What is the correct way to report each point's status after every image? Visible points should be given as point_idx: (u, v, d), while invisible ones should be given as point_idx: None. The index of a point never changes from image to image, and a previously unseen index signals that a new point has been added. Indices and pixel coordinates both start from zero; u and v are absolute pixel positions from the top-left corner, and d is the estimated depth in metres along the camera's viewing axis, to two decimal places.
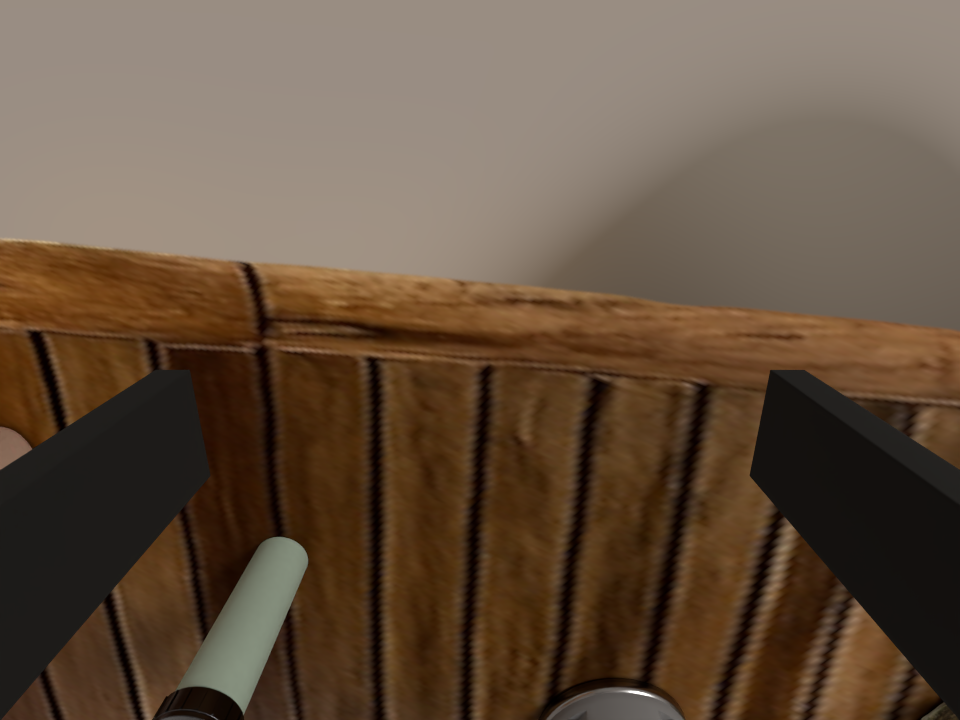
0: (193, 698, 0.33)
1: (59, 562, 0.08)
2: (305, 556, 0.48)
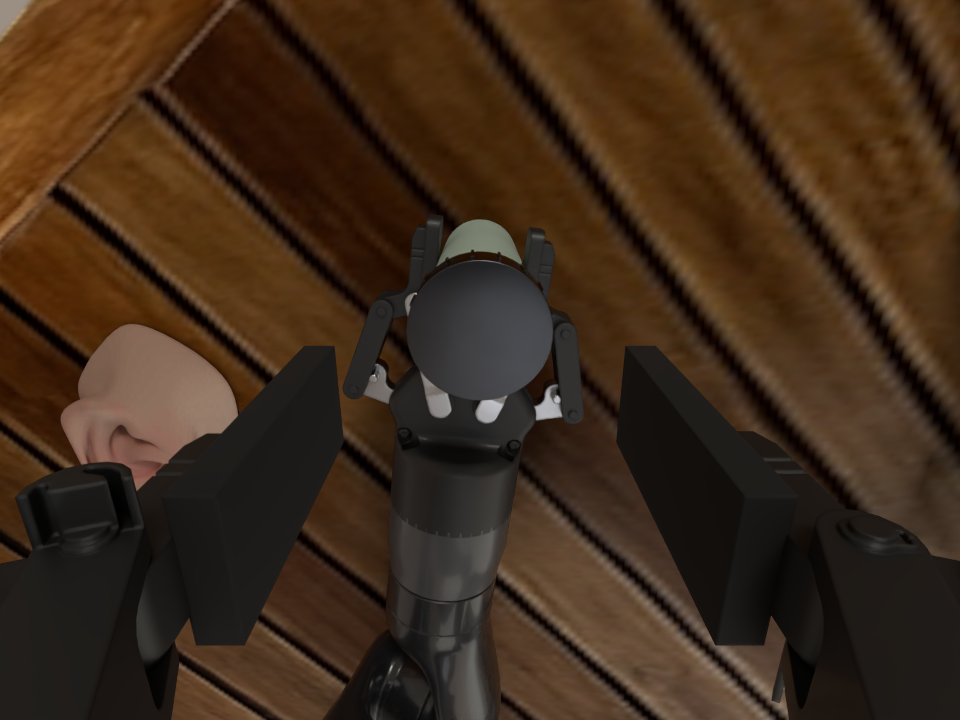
0: (435, 270, 0.19)
1: (279, 498, 0.10)
2: (500, 226, 0.34)
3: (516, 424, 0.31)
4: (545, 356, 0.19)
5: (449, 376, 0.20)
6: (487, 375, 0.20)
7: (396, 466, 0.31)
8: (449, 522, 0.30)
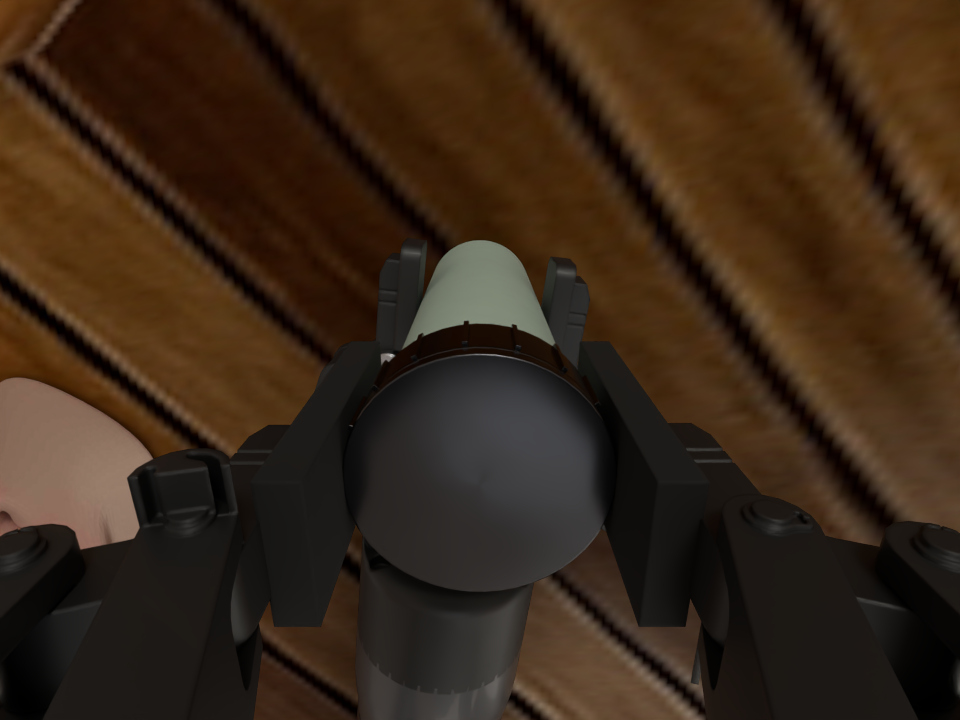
0: (397, 361, 0.11)
1: (343, 487, 0.10)
2: (508, 250, 0.25)
3: None
4: (600, 521, 0.10)
5: (424, 554, 0.11)
6: (493, 552, 0.11)
7: (363, 588, 0.22)
8: (436, 675, 0.21)
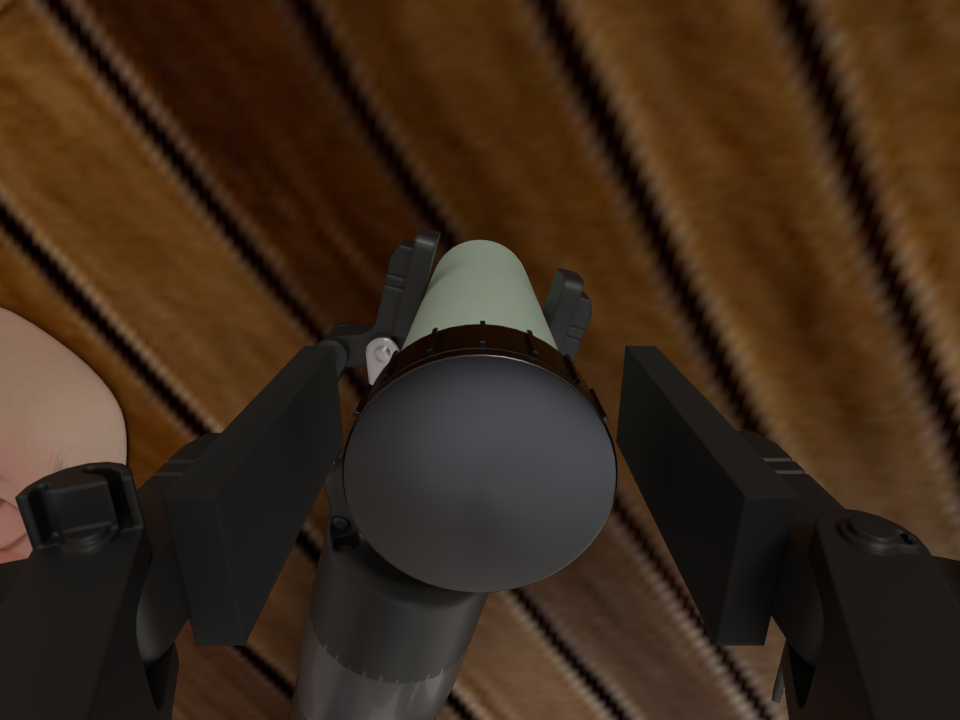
0: None
1: (279, 498, 0.10)
2: (513, 254, 0.25)
3: None
4: (591, 413, 0.10)
5: (516, 562, 0.11)
6: (556, 513, 0.10)
7: (322, 567, 0.22)
8: (384, 663, 0.21)
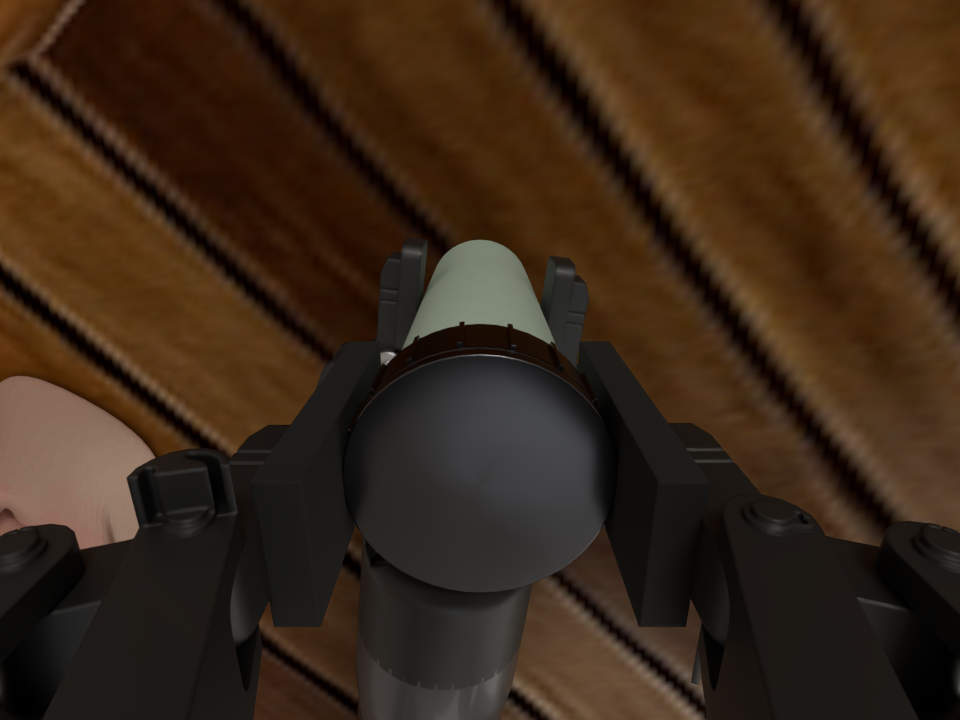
0: None
1: (343, 487, 0.10)
2: (507, 249, 0.25)
3: None
4: (578, 397, 0.10)
5: (530, 557, 0.11)
6: (561, 502, 0.10)
7: (363, 584, 0.22)
8: (436, 671, 0.21)
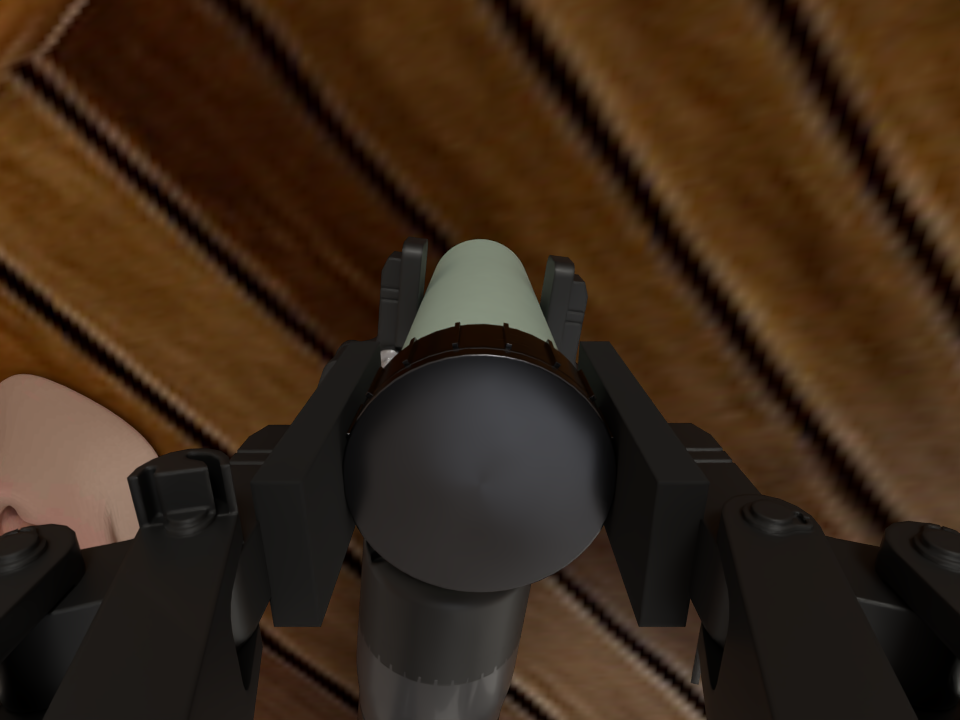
0: None
1: (343, 487, 0.10)
2: (507, 248, 0.25)
3: None
4: (428, 369, 0.09)
5: (583, 474, 0.10)
6: (536, 424, 0.10)
7: (364, 581, 0.23)
8: (436, 666, 0.21)
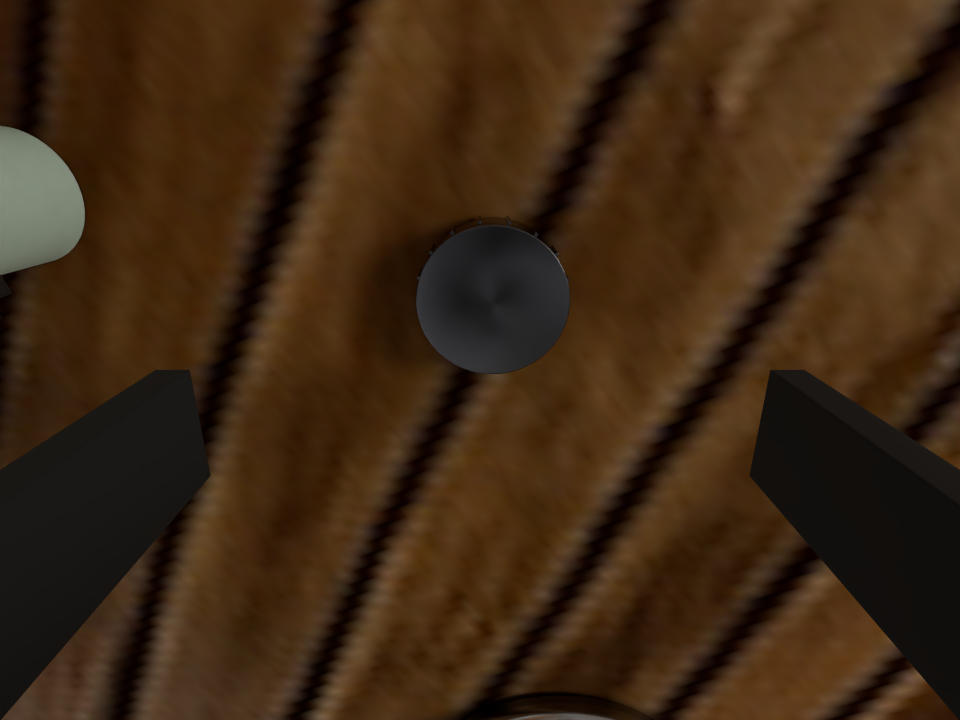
0: None
1: (59, 562, 0.08)
2: (77, 210, 0.19)
3: None
4: (465, 233, 0.17)
5: (551, 297, 0.18)
6: (524, 266, 0.18)
7: None
8: None
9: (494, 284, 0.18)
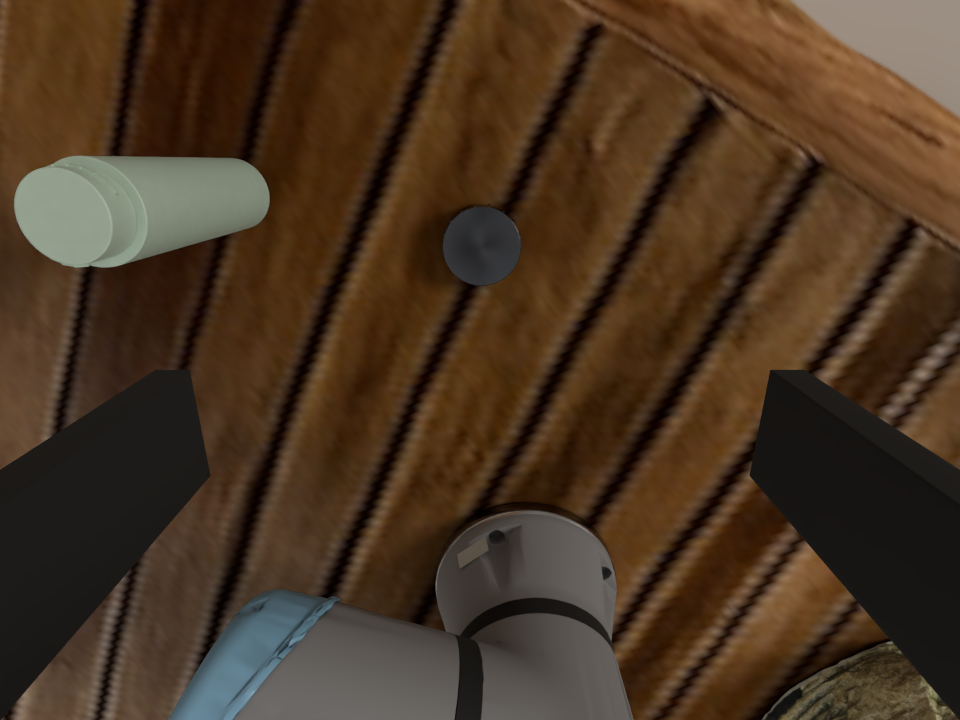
0: None
1: (59, 562, 0.08)
2: (267, 200, 0.36)
3: None
4: (467, 210, 0.35)
5: (511, 243, 0.36)
6: (497, 227, 0.35)
7: None
8: None
9: (482, 237, 0.36)
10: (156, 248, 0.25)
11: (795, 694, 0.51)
